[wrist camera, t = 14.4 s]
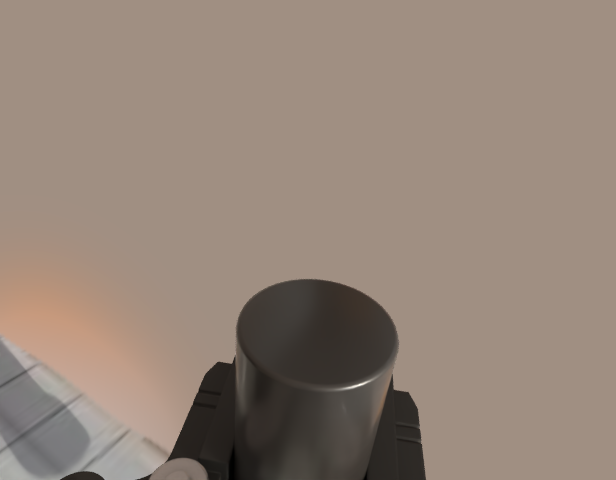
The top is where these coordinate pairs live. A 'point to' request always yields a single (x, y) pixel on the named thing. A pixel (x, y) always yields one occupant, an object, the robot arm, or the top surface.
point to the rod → (310, 381)
